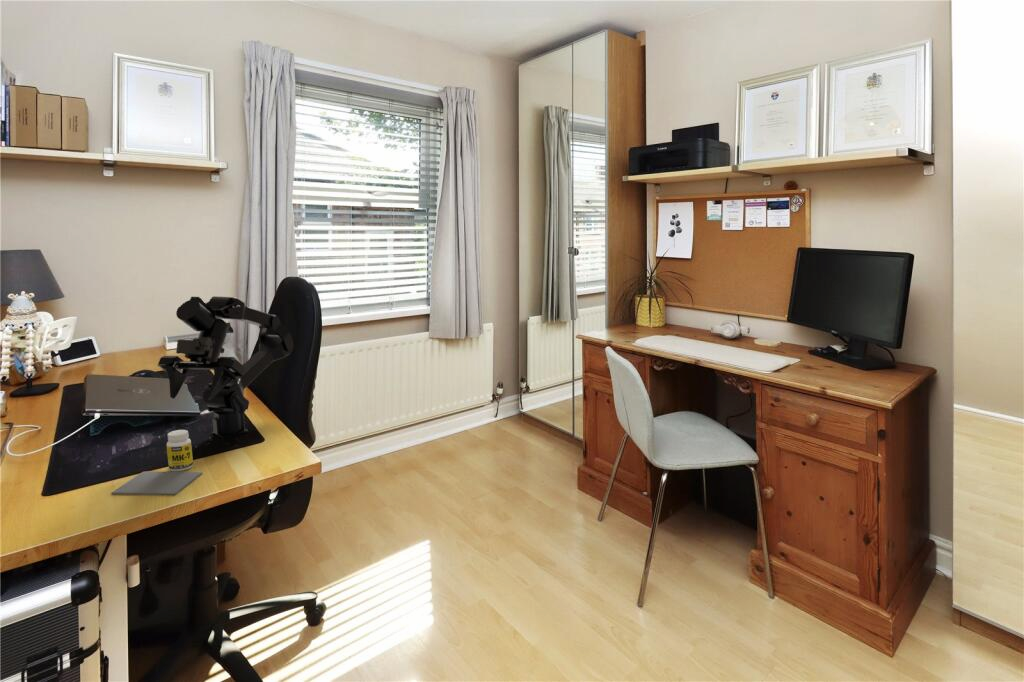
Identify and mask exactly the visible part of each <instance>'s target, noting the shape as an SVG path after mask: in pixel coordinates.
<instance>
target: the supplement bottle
mask: <svg viewBox="0 0 1024 682" xmlns="http://www.w3.org/2000/svg"><path fill="white" fill-rule="evenodd" d="M189 436H190V434H189V431H188V430H187V429H177V430H176V429H175V430H172V431H170V432H168V433H167V440H168V441H167V443H166V452H167V453H166V454H167V455H166V456H167V464H168V470H169V471H170V472H184V471H186V470H189V469H191V468H193V466H194V459H193V448H192V440H191V438H190V437H189Z"/></svg>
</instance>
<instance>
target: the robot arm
mask: <svg viewBox="0 0 1024 682" xmlns="http://www.w3.org/2000/svg"><path fill="white" fill-rule="evenodd" d="M175 313H176V314H175V315H176V318H177V319H179V320H180V321H181V322H183V323H184V324H185V325H186V326H188V327H190V328H191V329H192V330H193V331H195V332H199V334H198V337H197V338H193V339H177V343H176V352H175V353H176V354H181V355H182V354H184V357H185V358H186V359H189V361H187V360H184V359H182V358H181V357H179V356H178V355H163V356H161V357H160V358H159V360H158V363H157V366H158V367H159V368H161V369H162V370H163V371H164V372H166V373H167V376H168V380H169V396H170V398H171V399H172V400H174V399H176V397H177V396H178V394H179V392H180V390H181V388H182V386H183V385H184V383H185V381H186V379H187V375H186V374H187V373H188V371H189V370H200V371H202V370H206V371H210V370H211V371H212V370H213V378H212V381H211V382H210V383H207V384H206V385H207V387H206V388H205V389H204V390H203V394H202V400H203V402H204V404H205V407H206V409H207V411H208V413H209V412H210V413H212V412H213V416H214V417H213V418H211V419H212V427H213V429H212V432H213V434H215V435H217V436H218V437H220V438H222V439H226V438H230V437H234V436H237V435H241V434H244V433H248V432H249V431H248V429H246V428H245V416H244V413H245V412H246V410H249V405H250V401H249V399H247V398H246V397H245V396H244V394H245V390H246V388H247V387H248V386H249V385H250V384H251V383H252V382H253V381H254V380H255V379H256V378H258V376H259V375H261V374H262V372H263V371H264V370H265V369H267V368H268V367H269V366H270V365H271V364H272V363H274V362H275V361H278V360H281V359H284V358H286V357H287V356H289V355H290V354H291V353H292V352H293V350H294V346H295V345H294V340H293V338H292V335H291V333H290V331H289V330H288V329H287V328H286V327H285V326H284V325H283V324H282V323H281V320H280V317H279V316H277V315H276V314H272V313H271V314H270V313H267V312H264V311H262V310H259V309H255V308H253V307H249V306H247V305H246V303H245V302H244V301H243V300H241V299H240V298H238V297H234V296H216V295H215V296H212V297H211V298H210V299H209V301H206V302H205V301H204V300H203V299H202V298H201V297H200V296H191V297H190V299H189V300H187V301H185V302H183V303H182V304H181V305H180V306H178V307H177V310H176V312H175ZM223 319H224V320H223ZM225 320H236V321H241V322H243V323H247V324H251V325H254V326H258V328H259V333H258V336H257V337H258V340H259V342H260V343H259V345H258V351H257V352H256V353H254V354H253V355H252V356H251V357H249V359H247V360H246V362H244V363H241V362H240V361H239V360H238V359H237V358H236V357H235V356H220V354H224V353H225V348H224V347H223V346H224V342H225V340H226V336H227V334H233V333H234V328H233V327H232V326H231V323H230V322H226V321H225ZM267 329H272V330H273V332H274V333H275V334H268V332H267Z"/></svg>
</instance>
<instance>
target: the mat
mask: <svg viewBox="0 0 1024 682" xmlns="http://www.w3.org/2000/svg"><path fill="white" fill-rule="evenodd" d="M202 473H203V471H150V470H149V471H148V470H147V471H142V472H141V473H139V474H137V475H136V476H134V477H133V478H131V479H130V480H128V481H126V482H125V483H123V484H122V485H121V486H119V487H118V488H115V489H114V490H113V491H111V492H110V493H111V495H137V496H138V495H141V496H142V495H144V496H146V495H149V496H151V495H153V496H157V495H158V496H176V495H177V494H179V493H180V492H181V491H183V490H184V489H185V488H186V487H188V486H189V485H190V484H191V482H192V483H193V482H194V481H195V480H196V478H197V477H198V478H199V477H201V476H202V475H203V474H202ZM201 474H202V475H201ZM198 478H197V479H198Z"/></svg>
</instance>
